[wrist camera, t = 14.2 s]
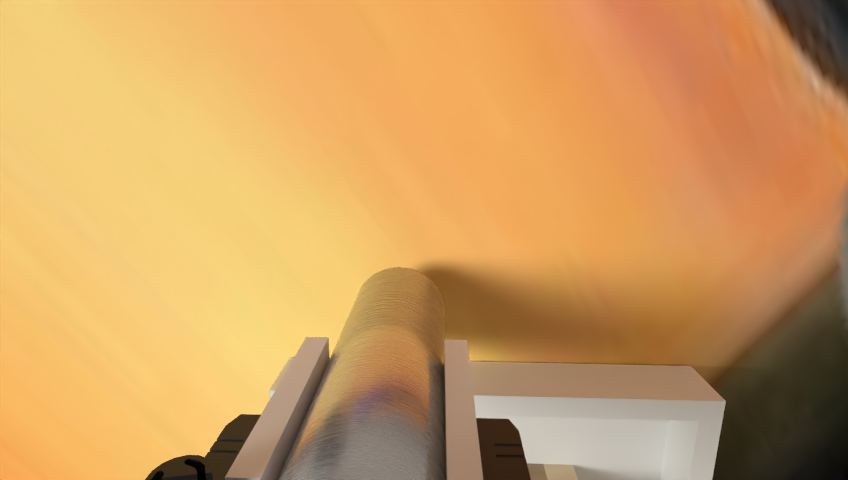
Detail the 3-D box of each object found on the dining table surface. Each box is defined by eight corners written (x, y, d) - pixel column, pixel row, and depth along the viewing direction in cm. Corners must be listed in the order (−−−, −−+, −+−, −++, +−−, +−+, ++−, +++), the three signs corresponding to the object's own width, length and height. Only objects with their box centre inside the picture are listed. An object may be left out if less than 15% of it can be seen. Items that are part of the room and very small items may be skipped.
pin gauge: (345, 257, 22) (158, 559, 7) (454, 260, 22) (483, 572, 7) (348, 355, 23) (193, 779, 9) (451, 358, 23) (471, 793, 8)
